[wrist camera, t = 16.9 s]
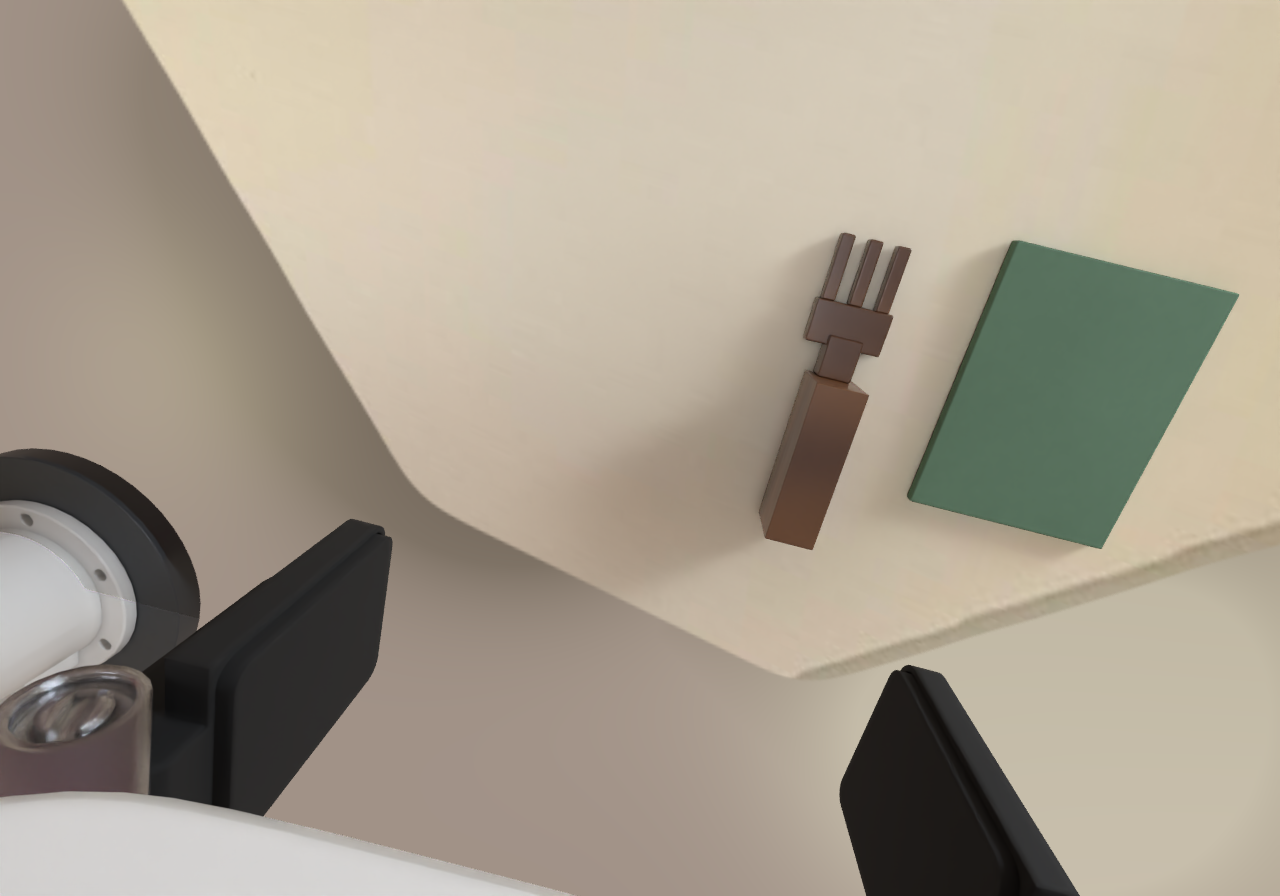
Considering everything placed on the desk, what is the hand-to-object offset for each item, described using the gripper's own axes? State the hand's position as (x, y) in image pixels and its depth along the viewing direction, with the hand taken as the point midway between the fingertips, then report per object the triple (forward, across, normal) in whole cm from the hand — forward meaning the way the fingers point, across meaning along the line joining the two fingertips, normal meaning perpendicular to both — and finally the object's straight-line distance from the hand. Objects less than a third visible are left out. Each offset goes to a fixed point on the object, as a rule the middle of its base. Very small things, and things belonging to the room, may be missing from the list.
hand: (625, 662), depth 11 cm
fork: (+21, -7, -2) cm, 22 cm away
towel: (+21, -18, -5) cm, 28 cm away
